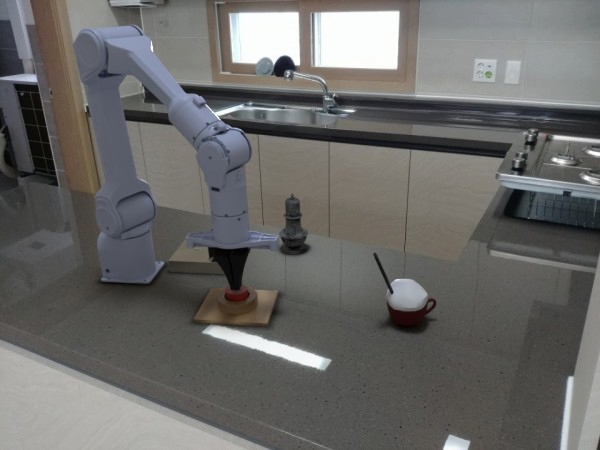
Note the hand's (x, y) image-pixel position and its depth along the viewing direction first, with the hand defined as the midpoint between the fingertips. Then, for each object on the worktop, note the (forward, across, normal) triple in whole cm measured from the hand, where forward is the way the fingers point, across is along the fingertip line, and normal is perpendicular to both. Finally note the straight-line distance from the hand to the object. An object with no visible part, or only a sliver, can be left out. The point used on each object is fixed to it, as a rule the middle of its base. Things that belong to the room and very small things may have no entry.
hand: (236, 287), depth 88 cm
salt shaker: (+4, -6, -23) cm, 24 cm away
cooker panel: (+4, +10, -16) cm, 19 cm away
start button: (+2, 0, 0) cm, 2 cm away
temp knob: (+1, +8, -16) cm, 18 cm away
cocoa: (+4, -27, +1) cm, 27 cm away
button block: (+4, 0, 0) cm, 4 cm away
